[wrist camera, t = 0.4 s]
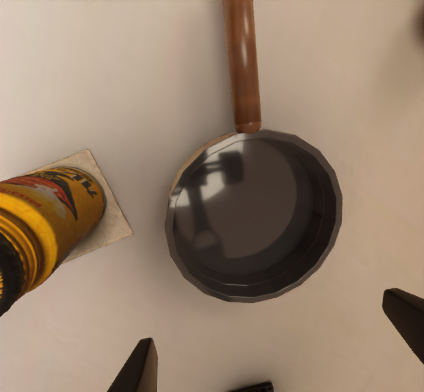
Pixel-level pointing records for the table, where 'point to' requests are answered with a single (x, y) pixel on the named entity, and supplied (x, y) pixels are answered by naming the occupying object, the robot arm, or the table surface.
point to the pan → (253, 215)
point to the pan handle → (242, 64)
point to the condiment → (53, 222)
